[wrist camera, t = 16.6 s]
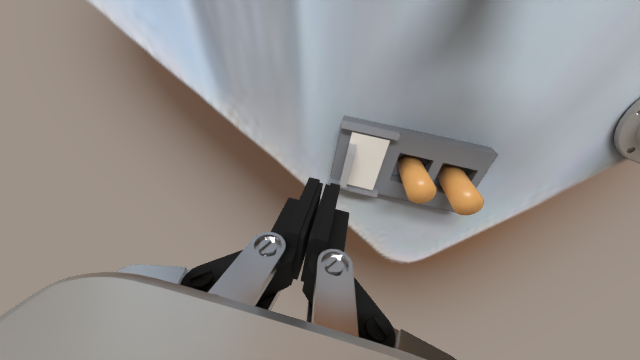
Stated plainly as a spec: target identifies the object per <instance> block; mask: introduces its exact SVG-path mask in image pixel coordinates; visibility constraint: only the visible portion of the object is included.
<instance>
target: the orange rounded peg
mask: <svg viewBox="0 0 640 360" xmlns="http://www.w3.org/2000/svg"><path fill="white" fill-rule="evenodd" d="M437 178H438V180H439V182H440V184H441V186H442V188H443V190H444V192H445V194H446V196H447V198H448V200H449V202H450V204H451V206H452V208H453V210H454V211H455V212H456V213H458V214H460V215H471V214H474V213H476V212H478V211H479V210H480V209H481V208H482V207H483V205H484V199H483V198H482V196H481V195H480V193H479V192H478V191H477V189H476V188H475V186H474V185H473V184H472V182H471V181H470V180H469V178H468V177H467V175H466V174H465V173H464V171H463V170H462V168H461V167H460V166H455V165H451V164H444V165H442V166H441V168H440V170H439V172H438V174H437Z"/></svg>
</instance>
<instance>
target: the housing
mask: <svg viewBox="0 0 640 360" xmlns="http://www.w3.org/2000/svg"><path fill="white" fill-rule="evenodd" d="M352 130H353V131H357V132H362V133H366V134H371V135H375V136H379V137H384V138H388V139H390V142H389V145H388V148H387V151H386V154H385V156H384V159H383V162H382V165H381V168H380V171H379V174H378V176H377V179H376V182H375V185H374V188H373V190H369V189H365V188H361V187H357V186H353V185H348V184H347V187H346V188H343V187H340V189H343V190H347V191H351V192H355V193H359V194H363V195H367V196H371V197H376V198H377V196H378V194H381V195H385V196H390V197H394V198H398V199H402V200H406V201H410V200H409V199H408V197H407V194H406V191H405V188H404V185H403V182H402V180H401V177H400V176H397V175H393V174H392V172H393V169H394V167H395V164H396V162H397V159H398V156H399V154H400V153H403V154H407V155H411V156H416V157H420V158H425V159H428V161H427V163H426V165H425V169H426V171H427V173H428V174H429V176H430V178H431V180H432V181H433V182H434V180H435V178H436V176H437V174H438V172H439V170H440V168H441V166H442V164H443V163H447V164H451V165H455V166H460V167H464V168H468V169H469V170H468V172H467V174H466V175H467V177H468V178H469V180H470V181H471V182H472V184H473V185H474V186H475V188H477V186H478V184H479V183H480V181H481V180H482V178H483V177H484V175H485V174H486V172H487V171H488V169H489V168H490V166H491V165H492V163H493V162H494V160H495V159H496V157H497V155H498V154H497V153H496V152H495V151H494V150H493V149H492V148H490V147H485V146H481V145H476V144H472V143H467V142H463V141H458V140H453V139H449V138H444V137H440V136H435V135H431V134H426V133H421V132H417V131H412V130H408V129H403V128H399V127H394V126H390V125H385V124H380V123H376V122H371V121H367V120H362V119H358V118H353V117H348V116H344V118H343V121H342V124H341V130H340V135H339V140H338V144H337V149H336V153H335V158H334V163H333V167H332V172H331V176H330V180H329V184H328V185H330V183H335V184H339V183H340V179H341V175H342V171H343V167H344V162H345V158H346V154H347V150H348V146H349V142H350V138H351V134H352ZM434 185H435V184H434ZM435 187H436V194H435V196H434V198H433V199H431V200H430V201H428V202H426V203H421V204H422V205H427V206H431V207H435V208H439V209H443V210H447V211H451V212H455V211H454V210H453V208H452V206H451V204H450V202H449V200H448V198H447V196H446V194H445V192H444V190H443V188H442V186H439V185H435ZM410 202H412V201H410ZM418 204H419V203H418ZM455 213H456V212H455Z"/></svg>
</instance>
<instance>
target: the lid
mask: <svg viewBox="0 0 640 360" xmlns="http://www.w3.org/2000/svg"><path fill="white" fill-rule="evenodd" d="M389 142H390V139H388V138H384V137H379V136H375V135H371V134H366V133H362V132H357V131H353V130H352V134H351V138H350V142H349V146H348V150H347V154H346V158H345V162H344V167H343V171H342V175H341V179H340V183H339V185H341V186H340V187H343V188H346V187H347V184H348V185H353V186H357V187H361V188H365V189H369V190H373V188H374V185H375V182H376V179H377V176H378V174H379V171H380V168H381V165H382V162H383V159H384V156H385V154H386V151H387V148H388V145H389Z"/></svg>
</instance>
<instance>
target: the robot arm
mask: <svg viewBox="0 0 640 360" xmlns="http://www.w3.org/2000/svg"><path fill="white" fill-rule="evenodd" d="M614 143H615V146H616V148H617V150H618V151H619V153H620V154H621V155H623V156H624V157H626V158H628V159H630V160H632V161H635V162H637V163H640V99H639V100H638V101H636V102H635V103H634V104H633V105H632V106H631V107H630V108H629V109H628V110H627V111H626V113H625V114H624V115H623V117H622V118H621V120H620V121H619V123H618V126H617V128H616V131H615V135H614ZM319 182H320V180H318V179H314V178H309V180H308V182H307V184H306V186H305V188H304V191H303V193H302V195H301V197H300V199H299V200H297V199H293V198H288V200H287V202H286V204H285V206H284V208H283V209H282V211H281V213H280V215H279V217H278V219H277V221H276V223H275V225H274V227H273V228H272V230H271V232H264V233H261V234H258V235H256V236H255V237H254V238H253V239H252V240H251V241H250V243H249V244H248V245H247V246H246V247H245V249H244V250H241V251H239V252H236V253H233V254H230V255H227V256H225V257H222V258H219V259H216V260H214V261H211V262H208V263H205V264H203V265H200V266H197V267H195V268H193V269H191V270H187V269H186V267H177V266H159V265H158V266H157V265H140V264H137V265H129V266H127V267H124V268H122V269H120V270H118V271H117V272H101V273H90V274H82V275H77V276H73V277H68V278H65V279H62V280H59V281H57V282H55V283H53V284H50V285H48V286H46V287H45V288H43V289H41V290H39V291H38V292H36V293H35V294H33V295H31V296H30V297H28V298H27V299H25V300H24V301H22V302H21V303H19V304H18V305H16V306H15V307H13V308H12V309H10V310H9V311H7V312H6V313H5V314H3V315H2V316H0V360H456V359H455V358H454V357H452V356H451V355H449V354H447V353H445V352H443V351H441V350H439V349H437V348H436V347H434V346H432V345H430V344H428V343H426V342H425V341H422V340H421V339H419V338H417V337H415V336H413V335H412V334H410V333H408V332H406V331H404V330H402V329H401V330H400V331H399V330H397V329H395V328H393V327H392V325H391V323H390V322H389V320H388V319H387V318H386V316H385V315H384V314H383V313H382V312H381V310H380V309H379V308H378V307H377V305H376V304H375V303H374V301H373V300H372V299H371V298H370V296H369V295H368V294H367V293H366V291H365V290H364V289H363V288H362V286H361V285H360V284H359V283H358V282H357V280H356V279H355V278H354V274H353V264H352V261H351V259H350V258H349V256H348V255H347V254H346V253H344V247H345V241H346V233H347V226H348V219H349V212H345V211H341V210H337V209H335V208H336V203H337V199H338V194H339V190H340V186H341V185H339V184H335V183H330V185H327V184H326V186H325V189H324V192H323V195H322V198H321V201H320V196H321V191H322V186H323V183H319ZM319 201H320V204H319ZM318 206H319V207H318ZM305 254H306V256H305ZM304 257H305V261H304V266H303V272H302V277H301V281H303V282H304V285H303V292H304V294H305V295H306V297H307V299H308V303H307V314H306V321H303V320H299V319H296V318H293V317H289V316H286V315H283V314H279V313H276V312H272V311H271V309H272V307H273V306H274V304H275V302H276V300H277V298H278V296H279V294H280V291H281V290H283V289H285V288H287V287H288V286H289V285H291V284H292V281H293V279H296V280H297V279H298V276H299V273H300V270H301V266H302V264H303V260H304Z"/></svg>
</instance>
